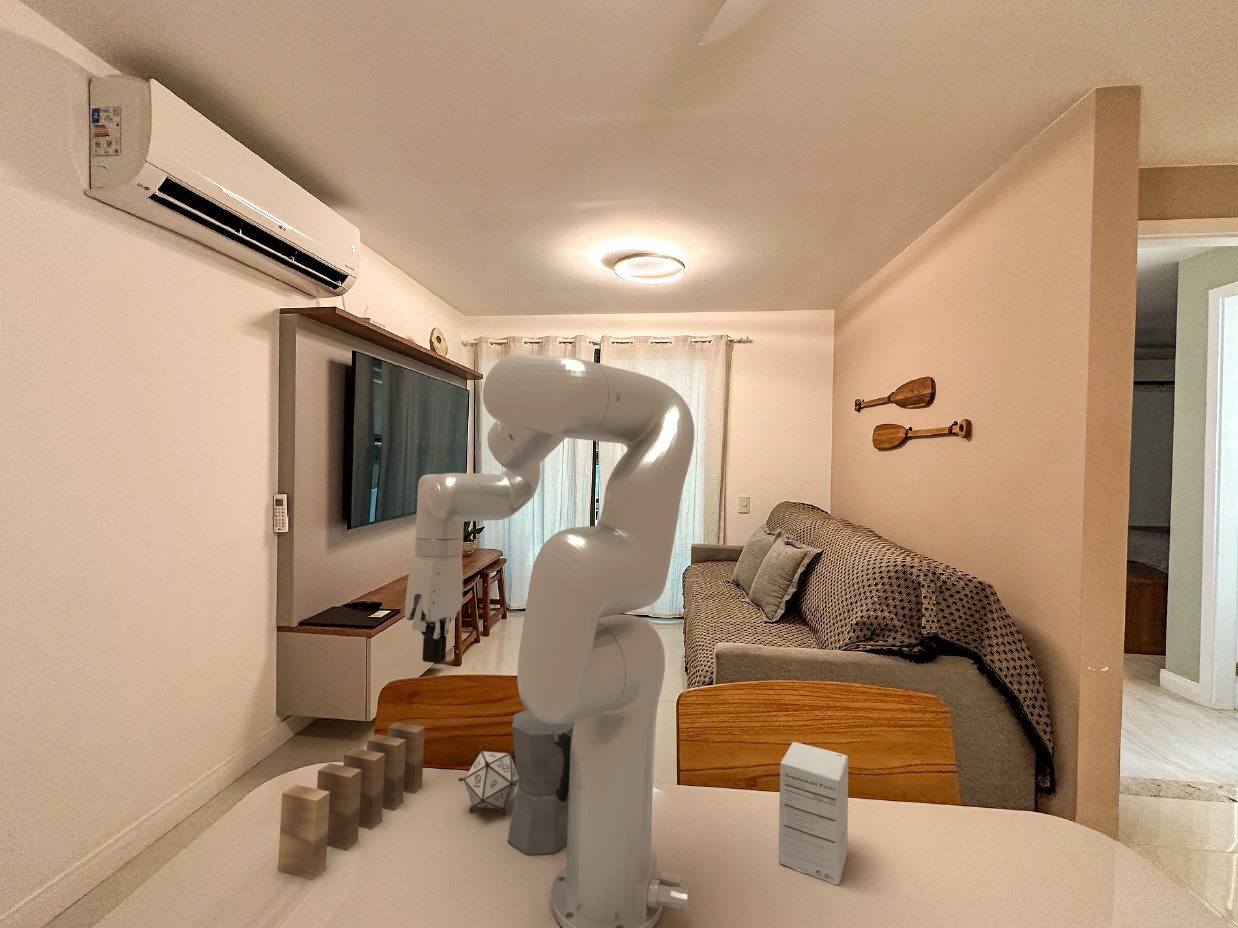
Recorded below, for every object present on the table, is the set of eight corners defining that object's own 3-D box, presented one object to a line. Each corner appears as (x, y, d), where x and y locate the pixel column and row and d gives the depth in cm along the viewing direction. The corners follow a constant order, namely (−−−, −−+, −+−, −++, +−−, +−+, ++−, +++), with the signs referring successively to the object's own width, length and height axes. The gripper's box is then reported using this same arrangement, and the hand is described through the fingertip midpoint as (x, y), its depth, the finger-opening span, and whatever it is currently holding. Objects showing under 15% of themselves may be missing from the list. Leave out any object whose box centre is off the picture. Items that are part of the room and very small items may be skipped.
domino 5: (421, 786, 84) (424, 726, 85) (413, 793, 82) (416, 732, 83) (393, 781, 86) (396, 721, 86) (385, 787, 84) (388, 727, 84)
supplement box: (790, 833, 76) (792, 739, 76) (848, 853, 72) (850, 754, 72) (776, 864, 69) (778, 761, 70) (839, 888, 65) (841, 779, 66)
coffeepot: (492, 816, 77) (498, 685, 78) (555, 799, 82) (560, 676, 83) (530, 887, 64) (536, 729, 65) (603, 863, 68) (608, 715, 69)
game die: (501, 827, 81) (543, 764, 84) (483, 841, 73) (530, 771, 76) (456, 786, 83) (499, 726, 86) (435, 795, 76) (482, 729, 78)
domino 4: (403, 802, 80) (405, 739, 80) (393, 810, 78) (396, 745, 78) (373, 796, 81) (376, 734, 82) (364, 803, 79) (367, 740, 80)
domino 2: (358, 840, 71) (361, 769, 72) (346, 850, 69) (350, 777, 70) (326, 833, 72) (329, 762, 73) (314, 842, 71) (317, 770, 71)
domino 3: (381, 820, 76) (385, 753, 76) (371, 829, 74) (375, 760, 74) (351, 813, 77) (354, 747, 77) (340, 822, 75) (344, 754, 75)
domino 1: (325, 868, 66) (329, 791, 66) (312, 880, 64) (316, 800, 64) (291, 859, 67) (296, 784, 68) (277, 870, 65) (282, 793, 66)
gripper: (445, 543, 100) (440, 646, 99) (389, 552, 85) (383, 672, 85) (482, 545, 98) (477, 650, 97) (432, 555, 83) (426, 678, 83)
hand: (434, 660), depth 91 cm, fingers closed
